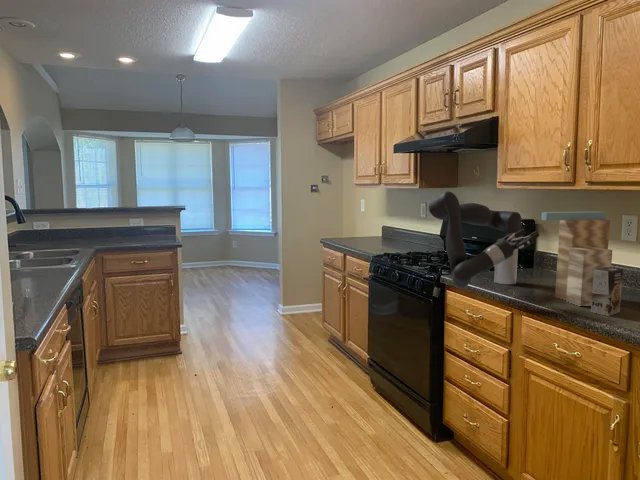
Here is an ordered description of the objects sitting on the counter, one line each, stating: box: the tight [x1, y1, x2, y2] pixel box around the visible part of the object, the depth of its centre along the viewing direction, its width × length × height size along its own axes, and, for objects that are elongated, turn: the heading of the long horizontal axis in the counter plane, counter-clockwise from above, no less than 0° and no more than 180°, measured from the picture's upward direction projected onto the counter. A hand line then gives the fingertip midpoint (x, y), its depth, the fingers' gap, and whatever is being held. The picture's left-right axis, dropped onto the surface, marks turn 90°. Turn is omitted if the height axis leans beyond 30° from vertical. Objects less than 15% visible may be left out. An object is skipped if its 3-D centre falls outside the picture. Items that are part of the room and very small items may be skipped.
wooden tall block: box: [554, 219, 611, 301], centre depth 196 cm, size 16×8×32 cm, turn 100°
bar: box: [541, 211, 607, 221], centre depth 193 cm, size 26×3×3 cm, turn 100°
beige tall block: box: [565, 247, 613, 307], centre depth 188 cm, size 12×8×22 cm, turn 100°
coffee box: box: [590, 267, 624, 317], centre depth 176 cm, size 9×6×16 cm
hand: (531, 231), depth 190 cm, fingers open, 8 cm apart
